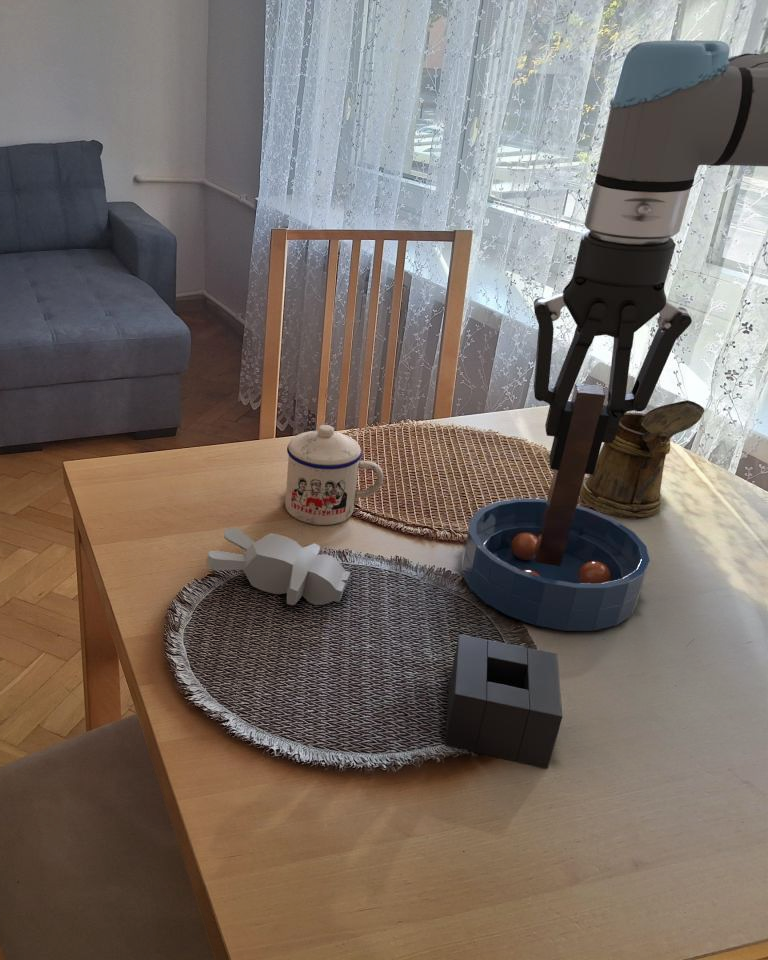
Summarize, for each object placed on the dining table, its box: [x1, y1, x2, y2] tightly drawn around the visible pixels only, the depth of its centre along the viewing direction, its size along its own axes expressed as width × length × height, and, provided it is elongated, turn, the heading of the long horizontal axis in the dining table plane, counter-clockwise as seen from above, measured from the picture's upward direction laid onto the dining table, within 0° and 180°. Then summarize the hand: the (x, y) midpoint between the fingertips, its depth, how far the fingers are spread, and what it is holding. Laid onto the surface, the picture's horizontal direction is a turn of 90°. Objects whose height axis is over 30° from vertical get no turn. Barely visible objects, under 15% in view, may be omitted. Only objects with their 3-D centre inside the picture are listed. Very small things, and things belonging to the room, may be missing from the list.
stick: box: [535, 382, 606, 566], centre depth 89 cm, size 2×2×20 cm
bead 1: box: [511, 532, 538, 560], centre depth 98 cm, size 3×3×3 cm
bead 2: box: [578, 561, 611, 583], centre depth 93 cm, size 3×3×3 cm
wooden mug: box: [579, 399, 706, 519], centre depth 104 cm, size 9×14×18 cm, turn 172°
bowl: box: [461, 497, 651, 632], centre depth 94 cm, size 18×18×6 cm
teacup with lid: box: [284, 424, 384, 526], centre depth 108 cm, size 12×9×12 cm
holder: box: [444, 634, 564, 769], centre depth 76 cm, size 8×8×6 cm
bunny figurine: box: [205, 526, 351, 606], centre depth 96 cm, size 10×5×15 cm
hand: (570, 465), depth 88 cm, fingers closed on stick, 2 cm apart
